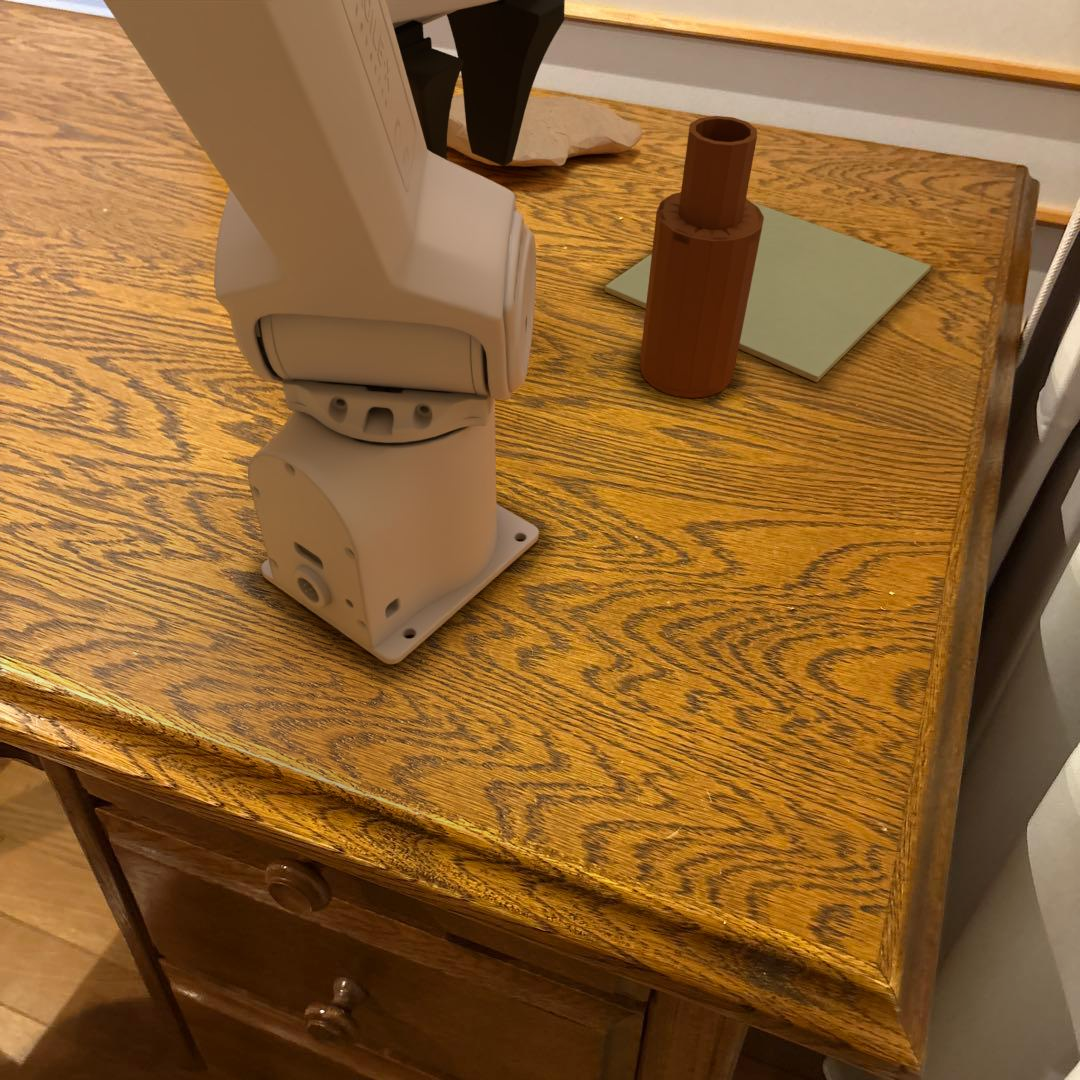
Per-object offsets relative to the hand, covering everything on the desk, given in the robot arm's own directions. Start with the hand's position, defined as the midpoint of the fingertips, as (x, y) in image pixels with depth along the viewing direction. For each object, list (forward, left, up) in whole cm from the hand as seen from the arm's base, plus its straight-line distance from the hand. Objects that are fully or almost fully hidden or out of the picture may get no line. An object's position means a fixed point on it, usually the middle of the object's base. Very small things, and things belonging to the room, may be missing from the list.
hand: (458, 176), depth 46 cm
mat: (+18, -9, -10) cm, 23 cm away
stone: (+23, +14, -11) cm, 29 cm away
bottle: (+7, -10, -10) cm, 16 cm away
